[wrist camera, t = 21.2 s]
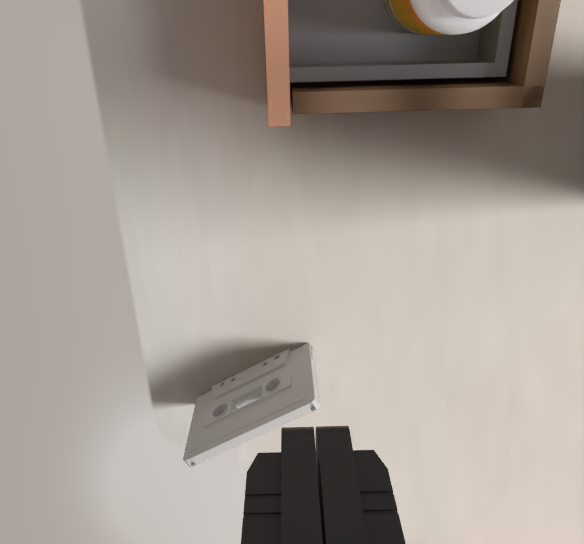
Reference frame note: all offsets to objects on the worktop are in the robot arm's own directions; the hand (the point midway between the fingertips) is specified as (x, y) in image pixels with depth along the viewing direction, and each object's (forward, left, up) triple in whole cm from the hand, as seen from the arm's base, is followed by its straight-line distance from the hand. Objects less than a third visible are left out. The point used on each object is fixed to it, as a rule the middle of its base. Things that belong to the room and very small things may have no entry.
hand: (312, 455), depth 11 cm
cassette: (+10, +17, -28) cm, 34 cm away
